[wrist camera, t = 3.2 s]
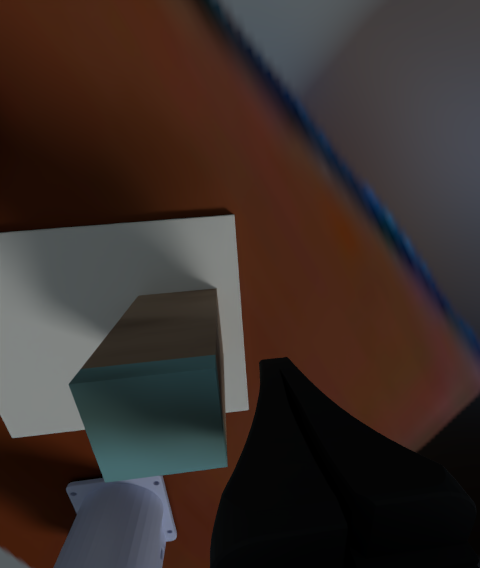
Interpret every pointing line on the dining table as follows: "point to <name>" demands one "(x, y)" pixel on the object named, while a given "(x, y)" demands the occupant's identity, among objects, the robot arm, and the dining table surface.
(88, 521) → the robot arm
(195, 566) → the dining table surface
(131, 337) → the teal and wood block
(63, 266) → the mat
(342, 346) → the dining table surface
